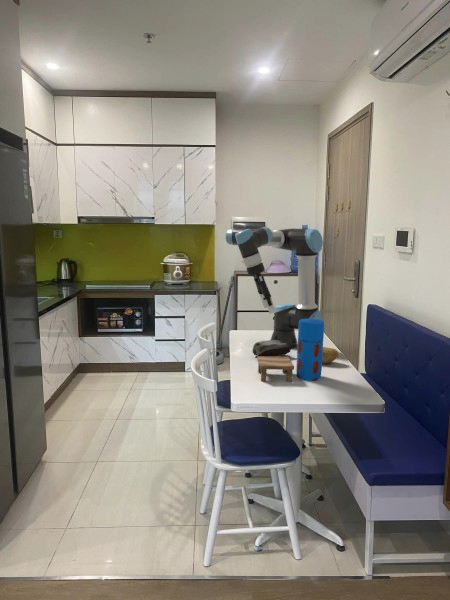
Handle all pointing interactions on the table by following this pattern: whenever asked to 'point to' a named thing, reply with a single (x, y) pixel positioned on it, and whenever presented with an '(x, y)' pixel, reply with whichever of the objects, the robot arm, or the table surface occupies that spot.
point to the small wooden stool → (275, 366)
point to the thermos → (310, 349)
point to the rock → (270, 348)
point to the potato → (329, 355)
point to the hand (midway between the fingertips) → (269, 309)
